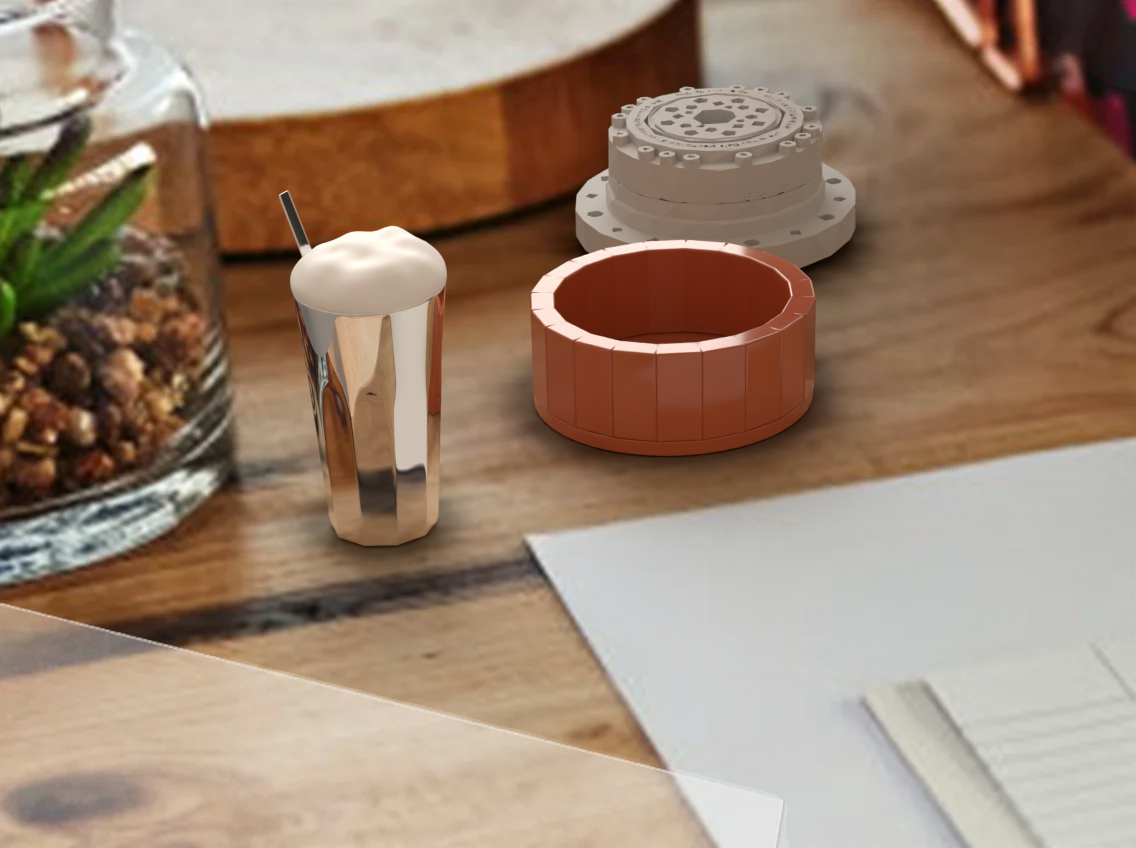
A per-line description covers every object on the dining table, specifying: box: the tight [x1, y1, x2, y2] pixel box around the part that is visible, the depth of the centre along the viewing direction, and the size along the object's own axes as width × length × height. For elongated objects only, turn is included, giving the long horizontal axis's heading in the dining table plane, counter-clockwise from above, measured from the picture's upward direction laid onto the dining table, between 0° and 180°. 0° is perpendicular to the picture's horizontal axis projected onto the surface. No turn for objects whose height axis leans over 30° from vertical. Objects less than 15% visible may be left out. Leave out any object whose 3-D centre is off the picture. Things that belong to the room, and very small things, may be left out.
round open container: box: [529, 240, 817, 457], centre depth 101 cm, size 9×9×4 cm
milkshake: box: [278, 190, 448, 547], centre depth 93 cm, size 5×5×10 cm
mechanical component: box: [575, 84, 856, 269], centre depth 111 cm, size 10×4×10 cm
